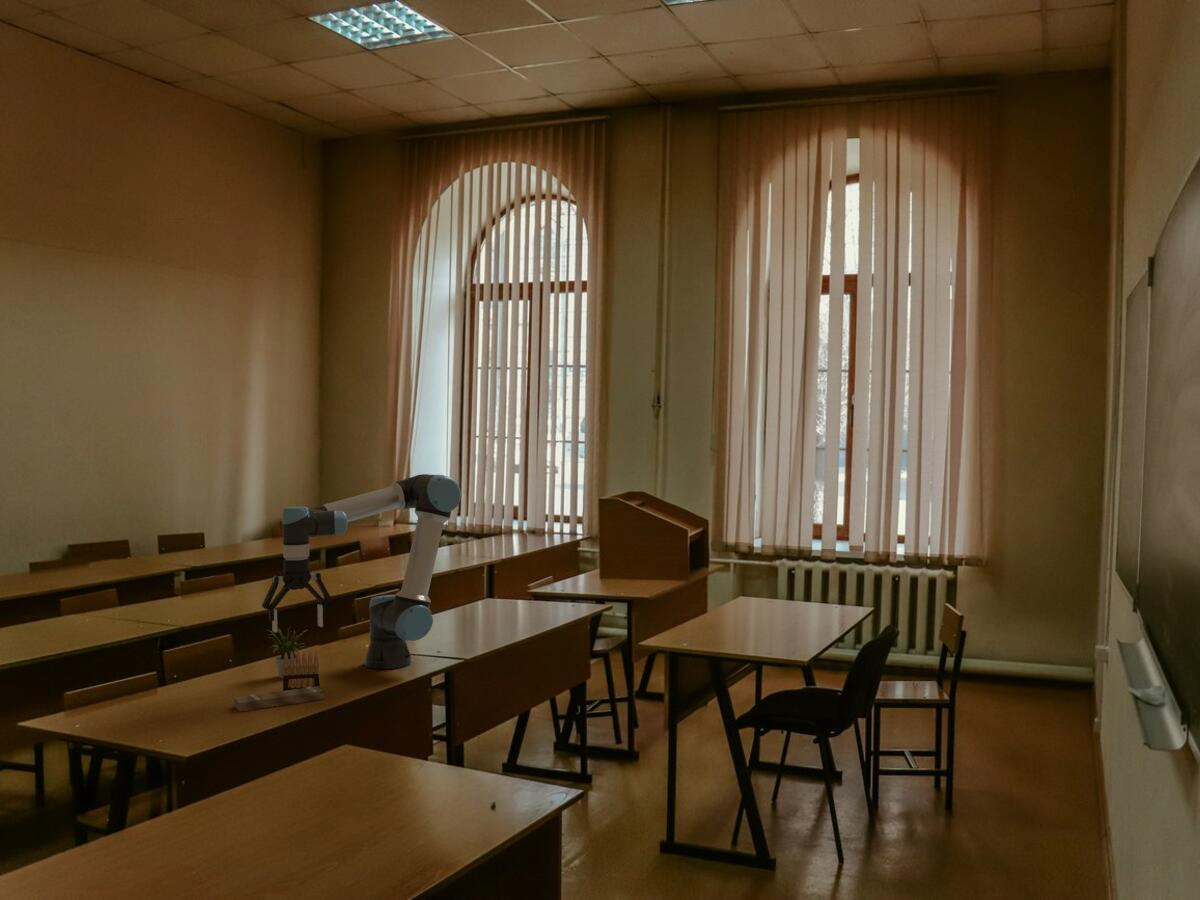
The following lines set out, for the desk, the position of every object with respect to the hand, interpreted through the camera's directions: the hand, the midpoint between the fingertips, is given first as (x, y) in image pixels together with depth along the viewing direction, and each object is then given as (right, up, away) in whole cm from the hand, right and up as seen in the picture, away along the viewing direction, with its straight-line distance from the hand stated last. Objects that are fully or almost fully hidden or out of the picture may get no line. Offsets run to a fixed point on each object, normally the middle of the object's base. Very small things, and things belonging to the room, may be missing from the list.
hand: (297, 628), depth 308 cm
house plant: (-10, -19, +18) cm, 28 cm away
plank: (-1, -19, -13) cm, 23 cm away
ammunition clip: (+1, -19, +1) cm, 19 cm away
